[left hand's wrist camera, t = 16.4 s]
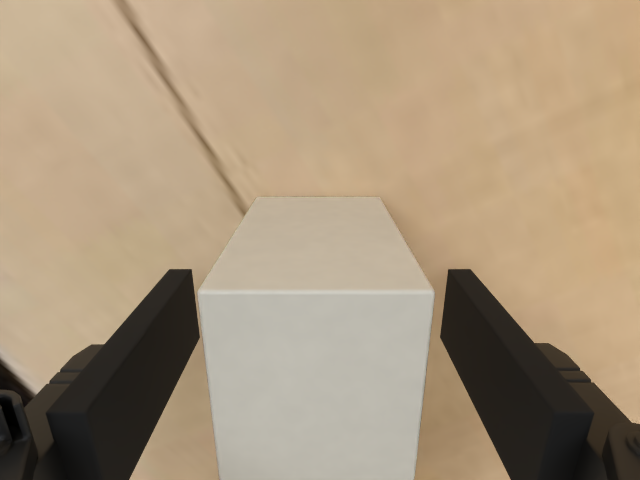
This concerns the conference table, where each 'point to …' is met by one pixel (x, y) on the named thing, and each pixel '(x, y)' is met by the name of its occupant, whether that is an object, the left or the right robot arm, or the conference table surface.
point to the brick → (316, 343)
